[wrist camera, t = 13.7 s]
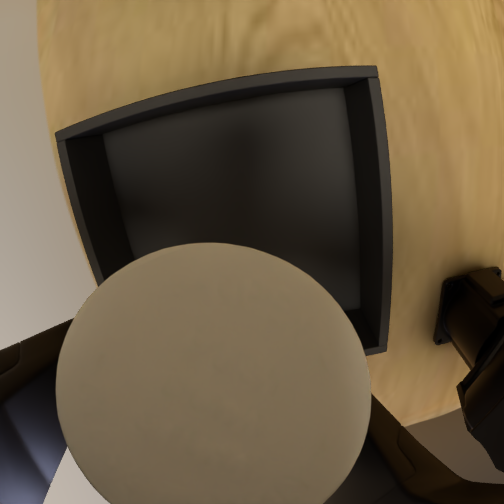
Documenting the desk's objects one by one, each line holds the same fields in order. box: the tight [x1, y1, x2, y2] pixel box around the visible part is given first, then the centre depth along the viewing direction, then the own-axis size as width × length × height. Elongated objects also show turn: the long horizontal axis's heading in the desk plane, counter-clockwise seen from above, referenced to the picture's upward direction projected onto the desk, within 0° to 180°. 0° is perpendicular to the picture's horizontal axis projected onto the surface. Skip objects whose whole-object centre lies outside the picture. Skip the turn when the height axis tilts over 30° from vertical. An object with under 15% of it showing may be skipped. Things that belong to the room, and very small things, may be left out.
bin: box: [55, 66, 393, 356], centre depth 18 cm, size 16×16×5 cm
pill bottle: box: [56, 243, 371, 504], centre depth 9 cm, size 6×6×11 cm
